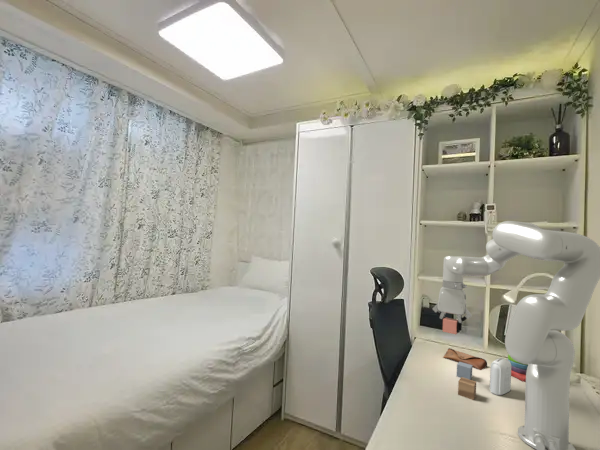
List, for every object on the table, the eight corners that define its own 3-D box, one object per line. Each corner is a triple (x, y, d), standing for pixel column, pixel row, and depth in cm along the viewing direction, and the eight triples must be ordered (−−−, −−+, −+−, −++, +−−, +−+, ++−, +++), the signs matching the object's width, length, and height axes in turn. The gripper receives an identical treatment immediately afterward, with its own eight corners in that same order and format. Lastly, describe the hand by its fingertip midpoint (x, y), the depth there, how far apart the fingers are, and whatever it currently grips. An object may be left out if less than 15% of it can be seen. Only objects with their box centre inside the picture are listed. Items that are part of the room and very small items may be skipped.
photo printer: (499, 386, 117) (501, 354, 118) (512, 391, 114) (513, 358, 115) (487, 391, 112) (488, 358, 113) (500, 397, 108) (501, 362, 109)
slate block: (469, 380, 121) (470, 368, 121) (456, 376, 124) (457, 364, 124) (472, 377, 124) (472, 365, 125) (458, 373, 128) (459, 361, 128)
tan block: (473, 400, 104) (474, 386, 105) (457, 395, 107) (458, 381, 108) (475, 395, 108) (476, 381, 108) (460, 390, 111) (461, 376, 112)
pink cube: (456, 334, 117) (456, 321, 117) (442, 331, 120) (443, 319, 120) (458, 332, 121) (459, 320, 121) (445, 329, 124) (446, 317, 124)
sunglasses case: (440, 357, 146) (444, 344, 148) (445, 362, 149) (448, 349, 152) (481, 370, 132) (484, 356, 135) (485, 375, 136) (488, 361, 139)
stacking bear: (499, 372, 133) (501, 332, 134) (513, 369, 137) (514, 331, 138) (526, 383, 123) (527, 339, 124) (540, 380, 127) (541, 338, 128)
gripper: (477, 288, 119) (476, 333, 118) (433, 282, 130) (431, 324, 129) (474, 289, 113) (472, 337, 112) (428, 283, 124) (426, 326, 123)
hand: (450, 329), depth 120 cm, fingers closed on pink cube, 4 cm apart
